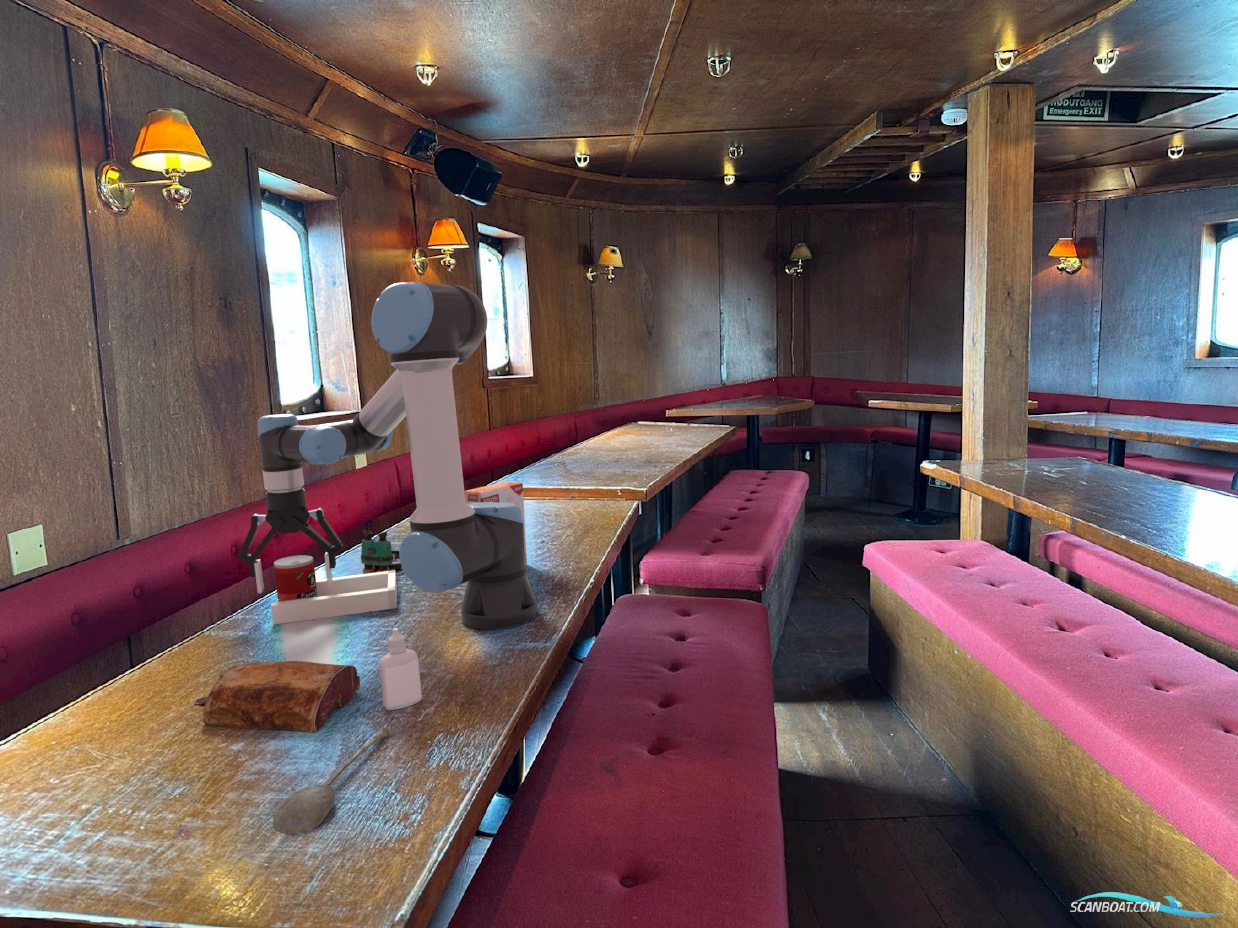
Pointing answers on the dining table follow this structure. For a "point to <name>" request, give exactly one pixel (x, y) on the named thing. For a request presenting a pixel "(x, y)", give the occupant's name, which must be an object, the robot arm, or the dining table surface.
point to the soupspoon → (314, 799)
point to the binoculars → (378, 554)
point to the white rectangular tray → (341, 598)
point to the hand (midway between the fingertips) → (295, 587)
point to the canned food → (295, 577)
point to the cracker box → (499, 496)
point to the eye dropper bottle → (399, 674)
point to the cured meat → (279, 695)
